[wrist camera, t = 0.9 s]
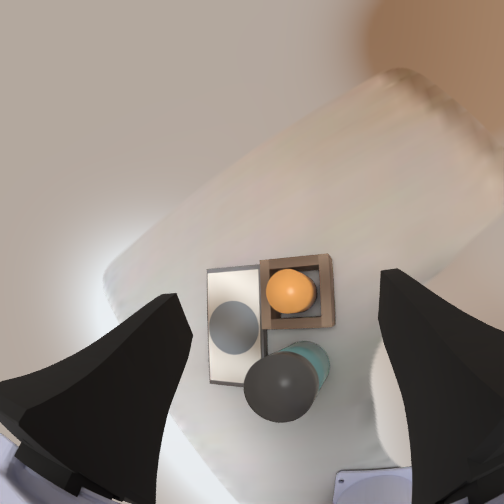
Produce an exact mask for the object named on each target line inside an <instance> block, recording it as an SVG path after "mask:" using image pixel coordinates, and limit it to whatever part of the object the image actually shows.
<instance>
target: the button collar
mask: <svg viewBox="0 0 504 504" xmlns="http://www.w3.org/2000/svg"><path fill="white" fill-rule="evenodd" d="M284 269H292V270H296V271H308V270H319V277H320V296H321V316H315V317H295V318H281V312H278V311H276V310H275V309H274V308H272V306H271V305H270V304H269V302H268V300H267V296H266V287H267V284H268V281H269V280H270V278H271V277H272V276H273V275H274V274H275V273H276V272H278V271H280V270H284ZM260 285H261V318H262V329H297V328H321V327H332V326H334V325H335V300H334V282H333V267H332V259H331V257H330V256H329V254H318V255H309V256H299V257H289V258H279V259H269V260H260Z"/></svg>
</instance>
